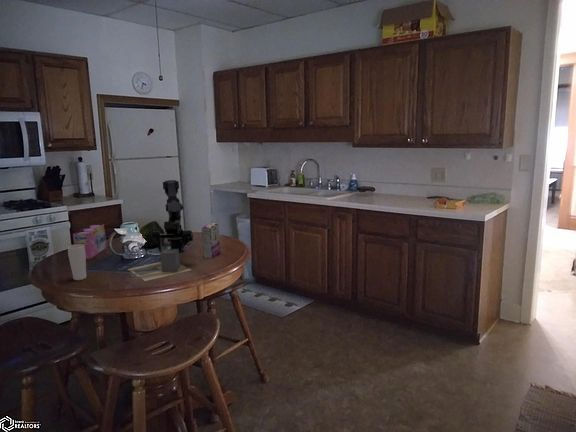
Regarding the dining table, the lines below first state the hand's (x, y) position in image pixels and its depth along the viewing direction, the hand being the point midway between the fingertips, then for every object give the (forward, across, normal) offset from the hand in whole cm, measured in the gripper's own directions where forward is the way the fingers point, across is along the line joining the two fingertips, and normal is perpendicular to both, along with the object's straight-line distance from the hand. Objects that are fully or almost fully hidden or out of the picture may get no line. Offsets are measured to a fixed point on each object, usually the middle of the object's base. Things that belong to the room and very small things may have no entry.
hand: (170, 251), depth 195 cm
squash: (-26, -22, +38) cm, 52 cm away
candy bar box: (-9, +16, +22) cm, 28 cm away
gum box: (-18, -51, +30) cm, 62 cm away
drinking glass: (+12, -39, +1) cm, 41 cm away
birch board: (+6, -6, +6) cm, 11 cm away
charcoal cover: (+6, 0, +6) cm, 8 cm away
